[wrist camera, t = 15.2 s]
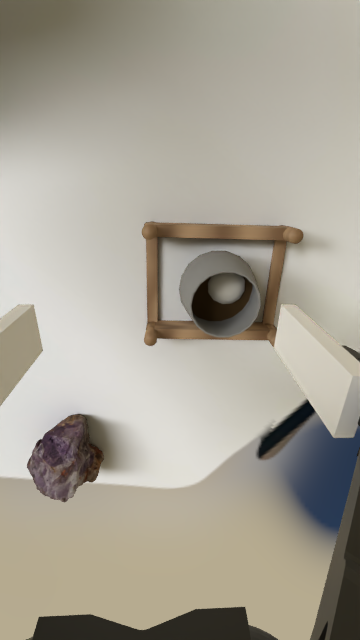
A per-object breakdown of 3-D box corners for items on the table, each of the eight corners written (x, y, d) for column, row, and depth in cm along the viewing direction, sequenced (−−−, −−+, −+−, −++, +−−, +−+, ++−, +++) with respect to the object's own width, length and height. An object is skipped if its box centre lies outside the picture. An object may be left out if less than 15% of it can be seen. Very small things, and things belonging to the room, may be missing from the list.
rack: (147, 329, 42) (144, 345, 38) (145, 221, 37) (141, 224, 32) (270, 331, 43) (282, 347, 38) (288, 225, 37) (304, 229, 33)
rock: (97, 407, 49) (38, 412, 49) (83, 439, 41) (11, 446, 41) (107, 466, 52) (51, 471, 52) (95, 507, 44) (28, 514, 43)
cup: (237, 235, 38) (259, 248, 28) (254, 300, 41) (278, 329, 32) (168, 260, 39) (167, 279, 29) (190, 321, 42) (196, 355, 33)
